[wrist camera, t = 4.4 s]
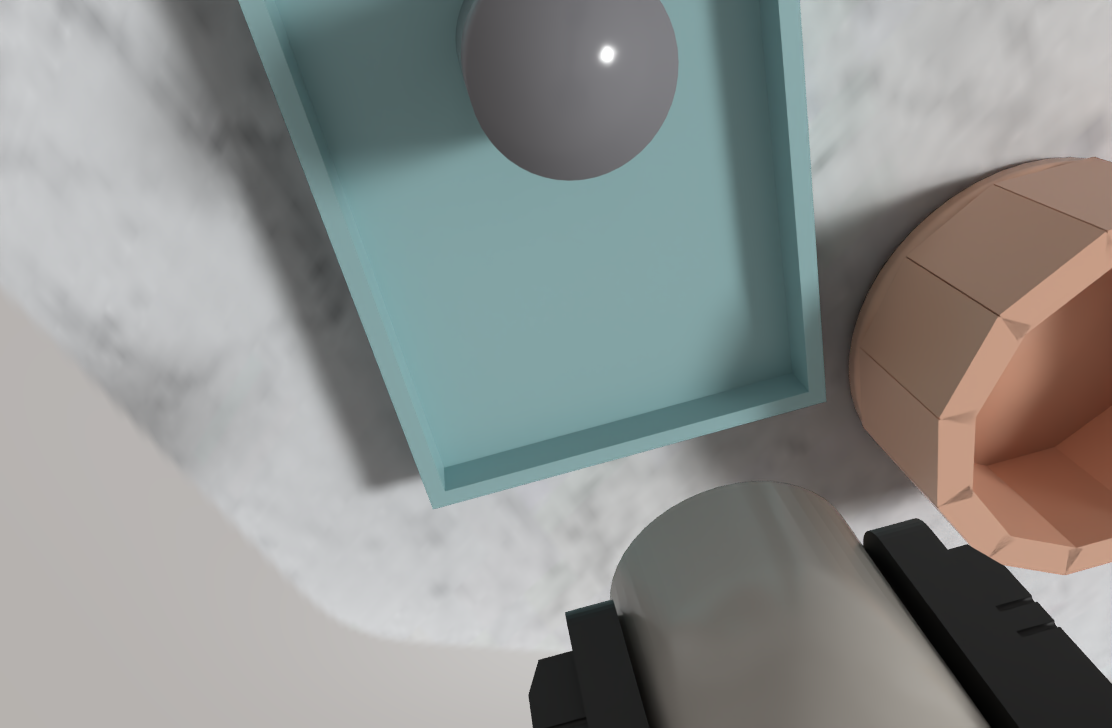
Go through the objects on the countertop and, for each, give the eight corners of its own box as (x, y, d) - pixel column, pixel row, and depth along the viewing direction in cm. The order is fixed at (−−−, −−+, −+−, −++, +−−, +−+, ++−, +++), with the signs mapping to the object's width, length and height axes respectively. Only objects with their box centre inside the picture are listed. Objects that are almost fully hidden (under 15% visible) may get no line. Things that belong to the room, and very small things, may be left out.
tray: (214, -109, 17) (194, -115, 16) (751, -245, 17) (782, -263, 16) (432, 475, 25) (433, 509, 23) (802, 374, 25) (826, 401, 24)
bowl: (840, 212, 23) (940, 276, 18) (1205, 114, 23) (1390, 154, 19) (855, 507, 28) (935, 611, 24) (1151, 424, 28) (1286, 512, 24)
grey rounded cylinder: (435, -25, 18) (439, -15, 13) (597, -67, 18) (660, -73, 13) (479, 141, 20) (498, 202, 15) (626, 102, 20) (692, 152, 15)
